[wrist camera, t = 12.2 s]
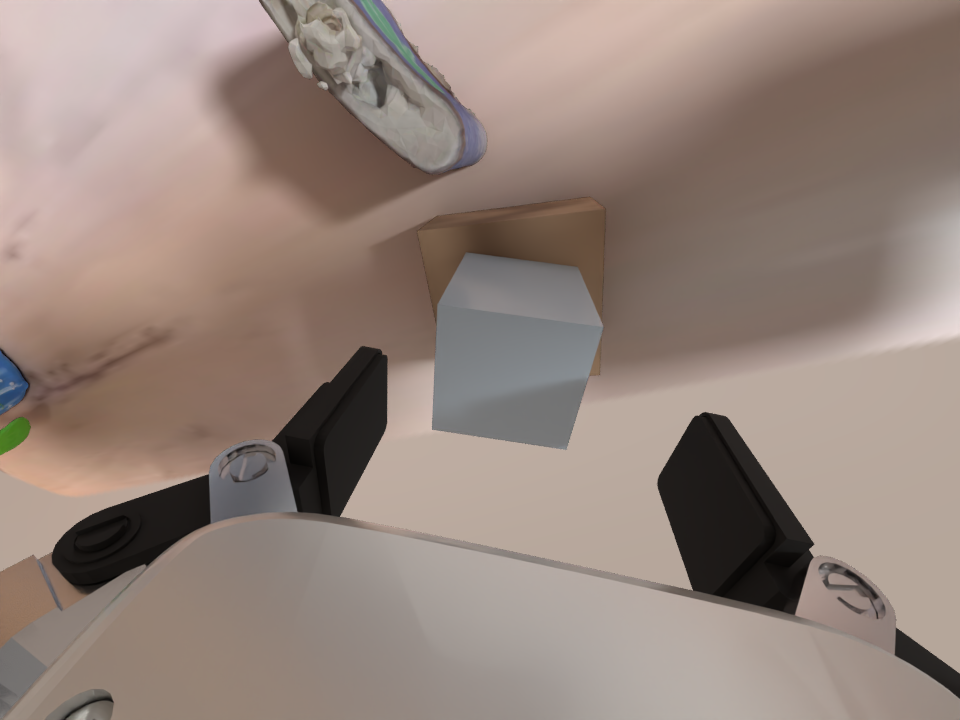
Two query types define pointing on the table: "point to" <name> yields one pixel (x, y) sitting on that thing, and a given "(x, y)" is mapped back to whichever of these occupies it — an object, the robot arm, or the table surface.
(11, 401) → the snack cup
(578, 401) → the pale blue cube
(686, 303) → the table surface
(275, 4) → the clover trinket box
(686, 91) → the table surface
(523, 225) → the block
